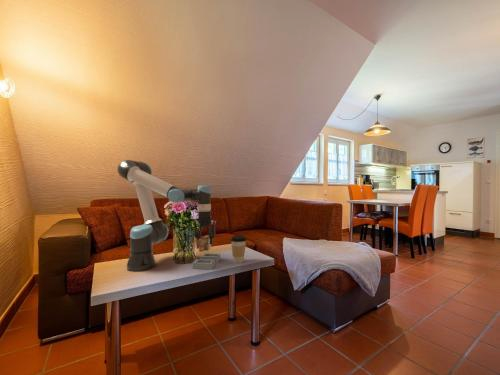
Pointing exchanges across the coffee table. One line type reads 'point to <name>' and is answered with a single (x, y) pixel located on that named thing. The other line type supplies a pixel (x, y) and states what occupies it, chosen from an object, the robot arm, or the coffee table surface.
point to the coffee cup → (238, 248)
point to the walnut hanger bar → (203, 243)
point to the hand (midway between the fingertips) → (205, 249)
